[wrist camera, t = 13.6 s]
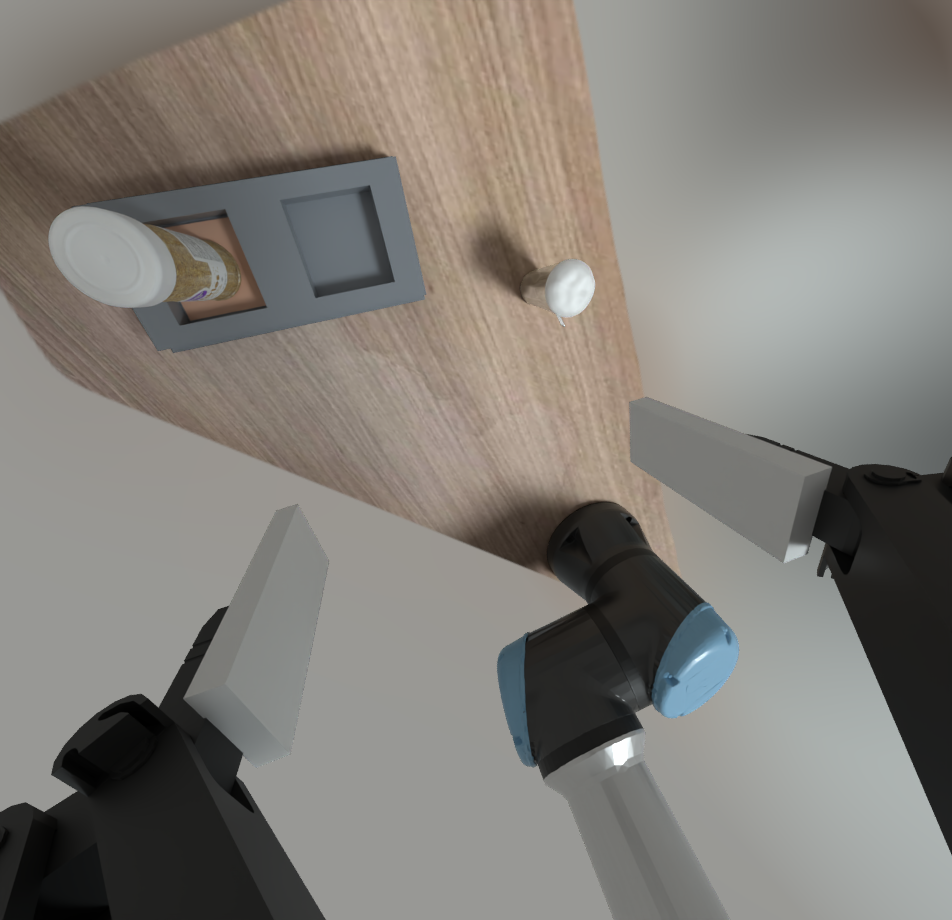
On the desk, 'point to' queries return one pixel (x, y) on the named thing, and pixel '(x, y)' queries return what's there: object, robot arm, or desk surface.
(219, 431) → the desk surface
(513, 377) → the desk surface
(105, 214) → the sprinkles bottle
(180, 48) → the desk surface
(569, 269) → the milkshake
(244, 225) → the two-pocket grey tray
